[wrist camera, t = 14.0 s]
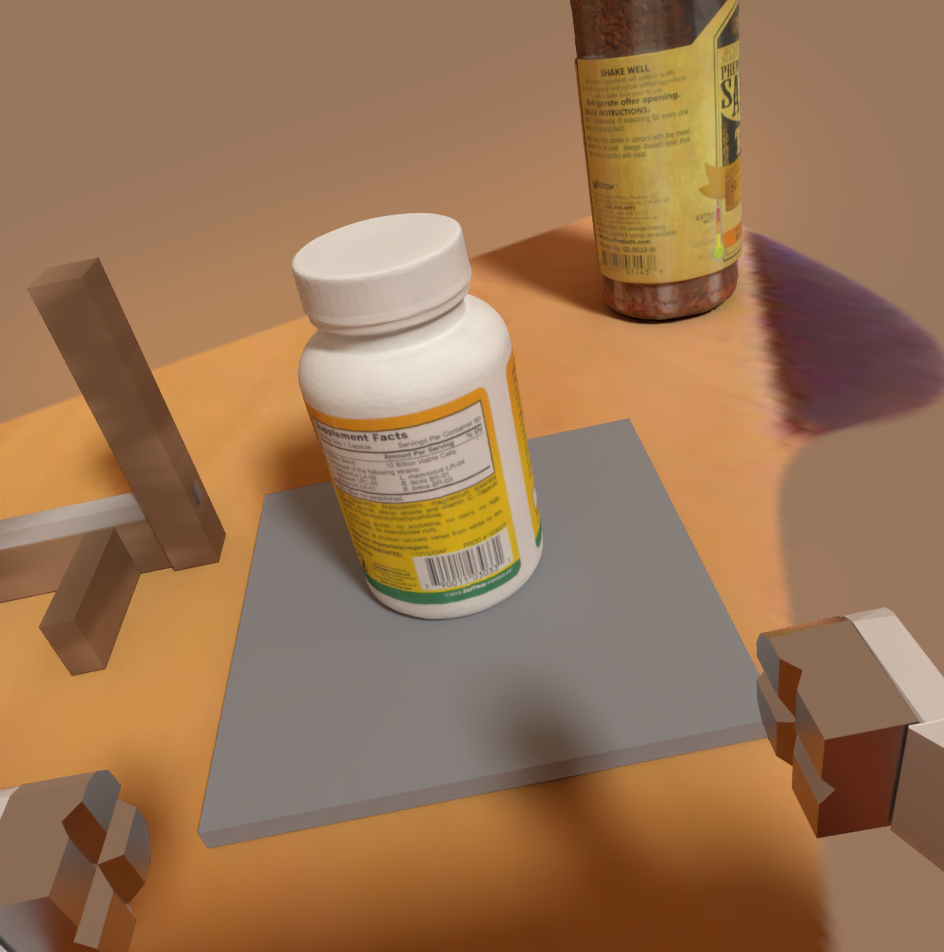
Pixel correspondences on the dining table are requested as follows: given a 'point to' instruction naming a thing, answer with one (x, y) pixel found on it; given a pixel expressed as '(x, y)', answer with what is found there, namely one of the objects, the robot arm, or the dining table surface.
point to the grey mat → (475, 658)
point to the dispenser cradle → (114, 518)
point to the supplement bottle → (418, 415)
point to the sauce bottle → (662, 150)
